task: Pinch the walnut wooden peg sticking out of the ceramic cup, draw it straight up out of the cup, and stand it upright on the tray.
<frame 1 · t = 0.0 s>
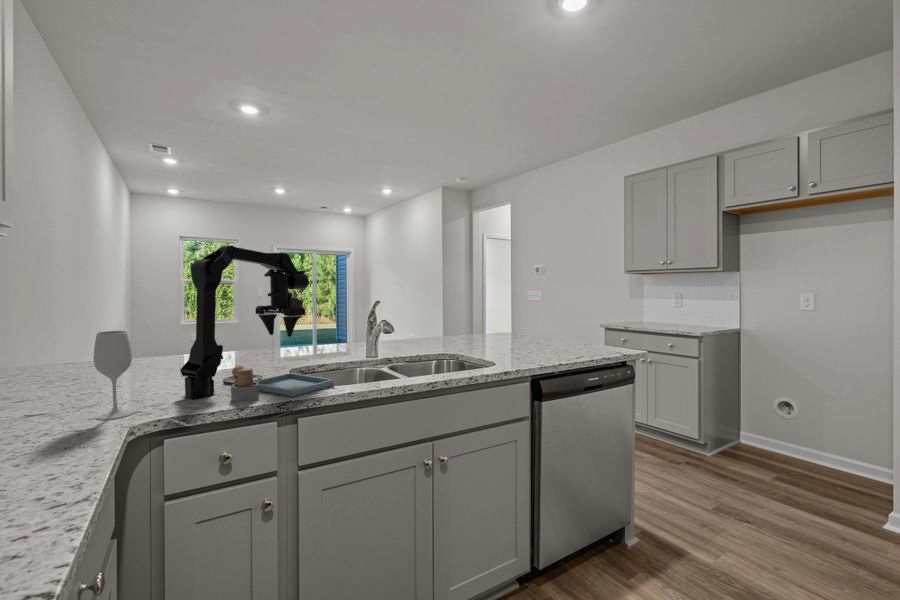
hand: (280, 335, 151), 15 cm above the table, fingers open, 9 cm apart
cup: (245, 400, 124), on the table
burger: (243, 383, 145), on the table
tray: (291, 389, 137), on the table
peg: (245, 398, 124), point 1 cm above the table, touching cup
wineglass: (115, 416, 111), on the table
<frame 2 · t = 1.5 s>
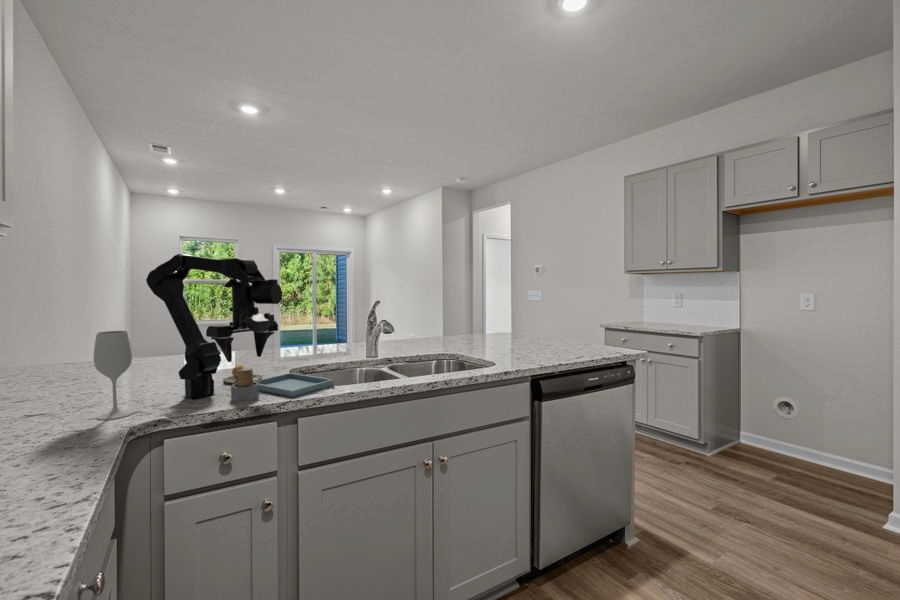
hand: (244, 359, 124), 12 cm above the table, fingers open, 9 cm apart
nothing on the table moved.
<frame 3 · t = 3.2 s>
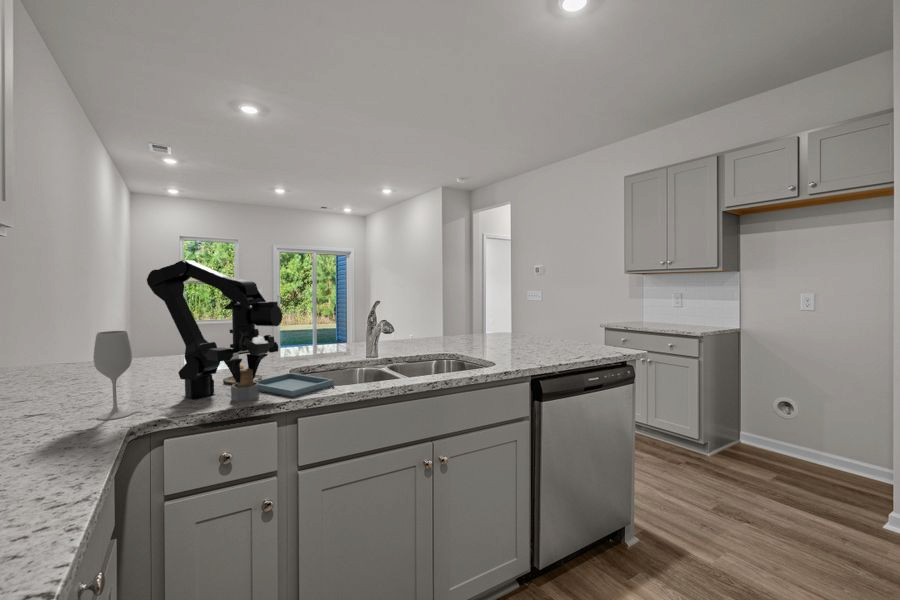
hand: (245, 380, 124), 6 cm above the table, fingers closed on peg, 4 cm apart
peg: (245, 398, 124), point 1 cm above the table, touching cup, gripper
everything else where it was.
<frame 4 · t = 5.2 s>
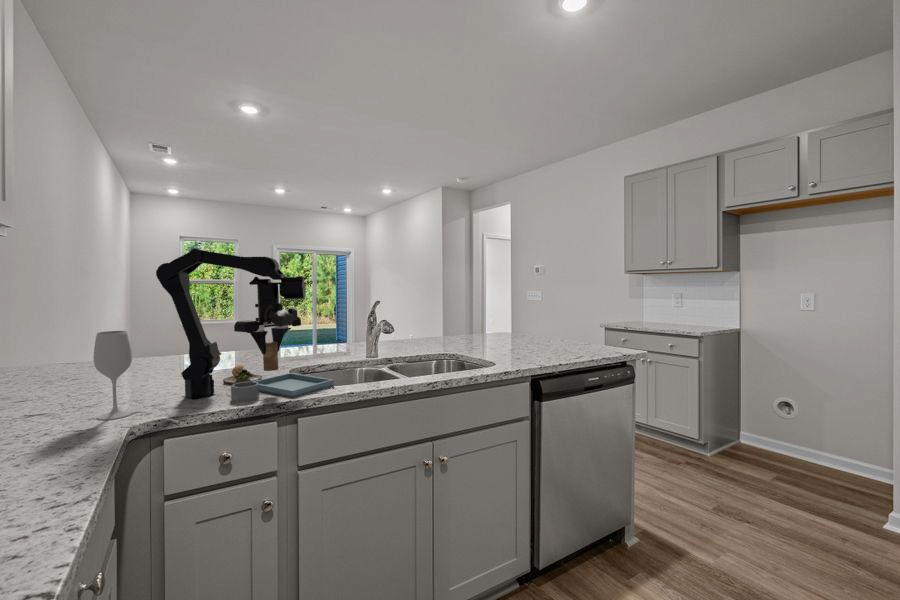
hand: (270, 352, 130), 12 cm above the table, fingers closed on peg, 4 cm apart
peg: (271, 369, 130), point 7 cm above the table, touching gripper
everything else where it was.
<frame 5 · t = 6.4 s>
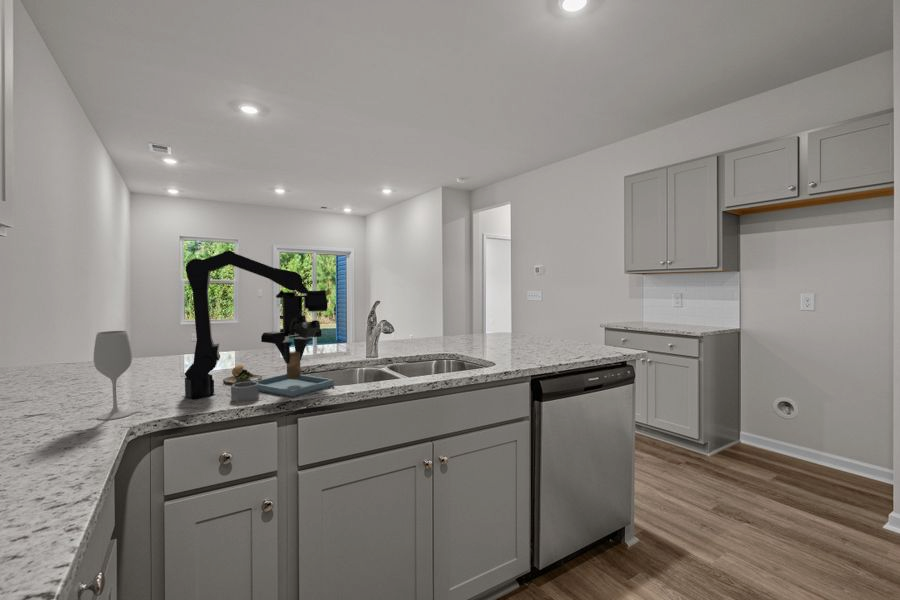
hand: (293, 362, 137), 8 cm above the table, fingers closed on peg, 4 cm apart
peg: (293, 377, 137), point 3 cm above the table, touching gripper
everything else where it was.
when the fingers open (8 cm above the table, at t = 7.2 s): peg drops 2 cm, resting on tray.
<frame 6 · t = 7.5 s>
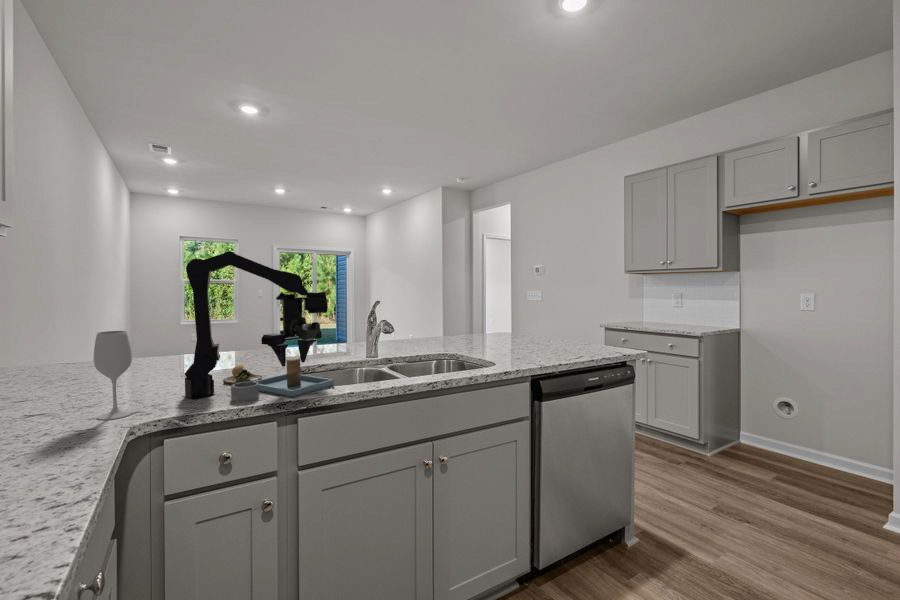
hand: (293, 364, 137), 8 cm above the table, fingers open, 7 cm apart
peg: (294, 385, 137), point 1 cm above the table, touching tray
everything else where it was.
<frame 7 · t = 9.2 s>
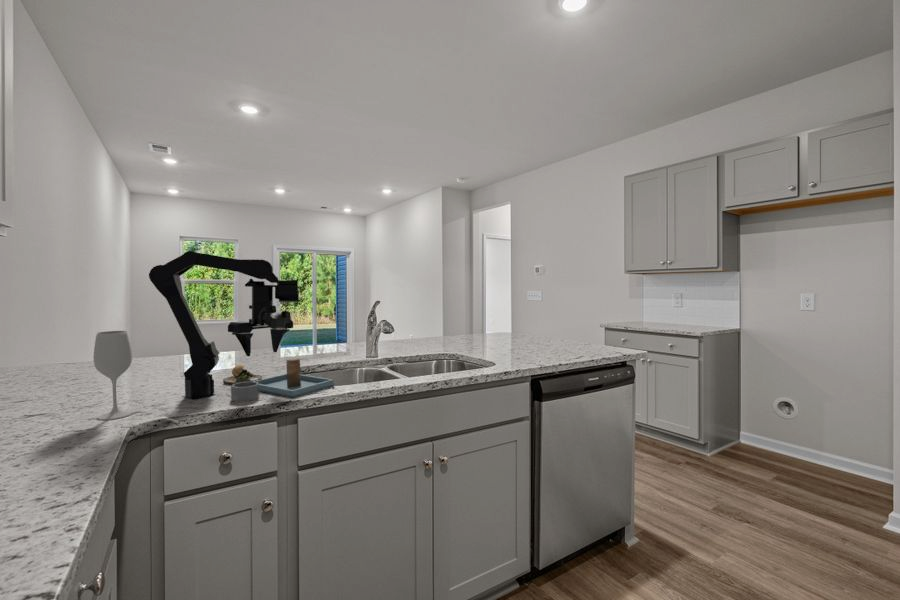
hand: (262, 354, 132), 12 cm above the table, fingers open, 9 cm apart
nothing on the table moved.
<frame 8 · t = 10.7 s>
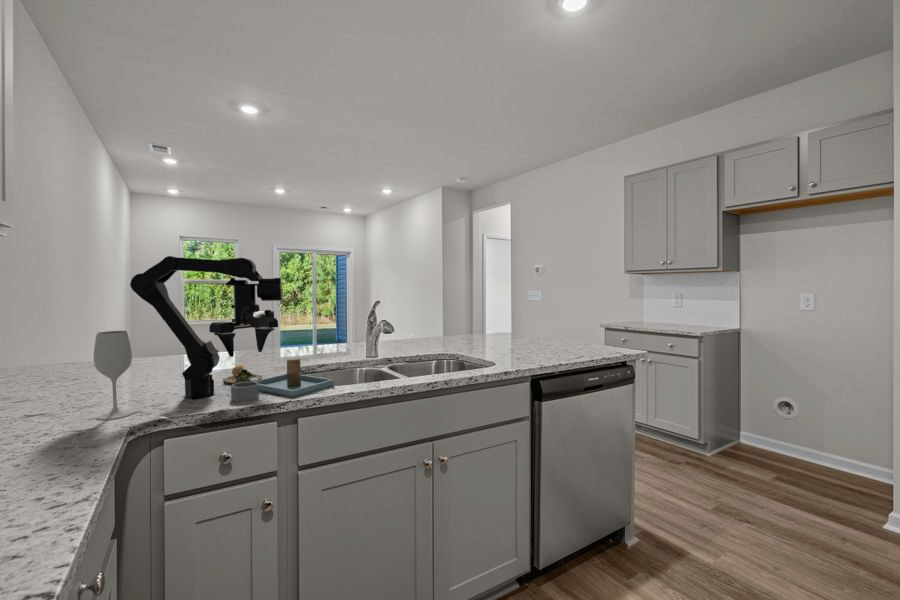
hand: (246, 354, 130), 12 cm above the table, fingers open, 9 cm apart
nothing on the table moved.
at the end: peg inside the target area on the tray (0.9 cm from its centre), point 1.1 cm above the tray's base; peg tilted 2°; the gripper is holding nothing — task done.
